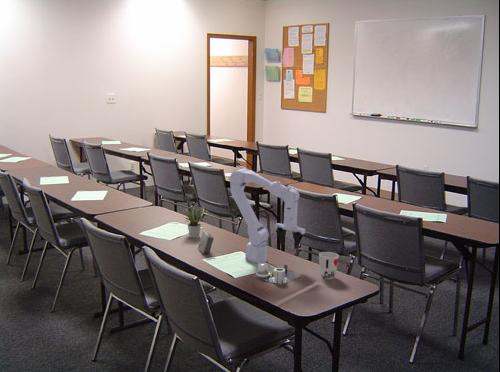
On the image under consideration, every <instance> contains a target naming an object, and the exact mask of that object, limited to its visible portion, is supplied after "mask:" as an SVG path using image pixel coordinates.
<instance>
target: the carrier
mask: <svg viewBox="0 0 500 372" xmlns="http://www.w3.org/2000/svg"><path fill="white" fill-rule="evenodd" d="M275 268H276V267H274V266H273V267H271V268H268V272H270V277H268V278H258V277H256V274H254V275H252V277H253V278H256V279H259V280H263V281H266V282H270V283H273V282H272V277H274V269H275ZM283 269H285V277H286V278H287V282H286V283H285V284H288V282H292V281H294V280H296V279H298V278H300V277H301V276H302V275H303V274H302V275H301V274H298V273H295V272H292V271H288V265H287V264H284V265H283ZM302 277H303V276H302ZM273 284H274V283H273ZM277 285H279V286H282V285H283V286H284V284H277Z"/></svg>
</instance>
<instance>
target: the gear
mask: <svg viewBox="0 0 500 372" xmlns="http://www.w3.org/2000/svg"><path fill="white" fill-rule="evenodd" d="M272 282H273V284H275V285H278V284H283V285H285V284H287V283H288V282H287V278H286V277H285V269H284V267H275V269H274V277H272ZM272 282H271V283H272ZM286 282H287V283H286Z"/></svg>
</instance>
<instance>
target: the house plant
mask: <svg viewBox="0 0 500 372" xmlns="http://www.w3.org/2000/svg"><path fill="white" fill-rule="evenodd" d="M204 208H205V207H204V206H203V207H201V208H200V209H199V210H198V211H197V210H196V208H195V207H194V206H192V208H191V210H192V213H191V211H189V210H188V209H187V208H185V211H187V212H186V215H187V216H186V217H185V219H186V220H185V222H188V224H187V229H188V235H189V236H188V237H190V236H191V238H199V237H200V232H201V229H202V228H201V227H202V224H201V223H199V222H201V219H202V217H203V216H204V215H203V213H204V212H209V210H208V209H207V210H206V209H205V210H203V209H204ZM185 211H183V213H185ZM204 220H206V219H205V218H203V220H202V222H204ZM204 223H205V222H204ZM198 236H199V237H198Z"/></svg>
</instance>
